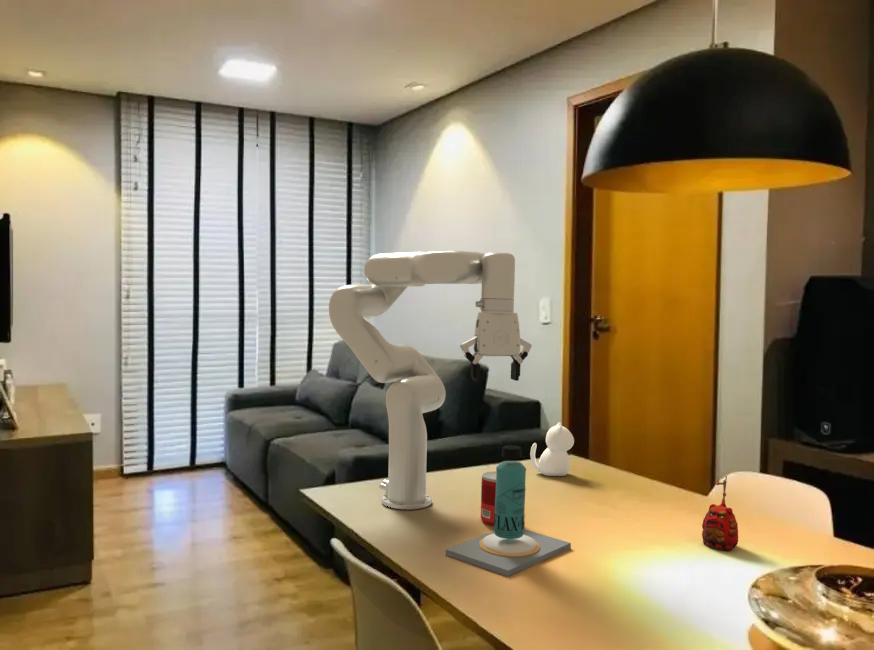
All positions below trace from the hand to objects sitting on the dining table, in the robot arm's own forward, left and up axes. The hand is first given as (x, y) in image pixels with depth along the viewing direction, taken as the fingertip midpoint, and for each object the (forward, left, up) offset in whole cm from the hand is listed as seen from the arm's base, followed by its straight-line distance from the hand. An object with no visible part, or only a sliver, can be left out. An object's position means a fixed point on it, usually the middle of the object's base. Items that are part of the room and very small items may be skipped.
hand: (495, 380), depth 179 cm
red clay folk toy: (+45, +23, -34) cm, 61 cm away
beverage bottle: (+15, -13, -31) cm, 37 cm away
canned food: (+1, +1, -34) cm, 34 cm away
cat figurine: (-15, +47, -34) cm, 60 cm away
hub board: (+15, -13, -33) cm, 39 cm away
